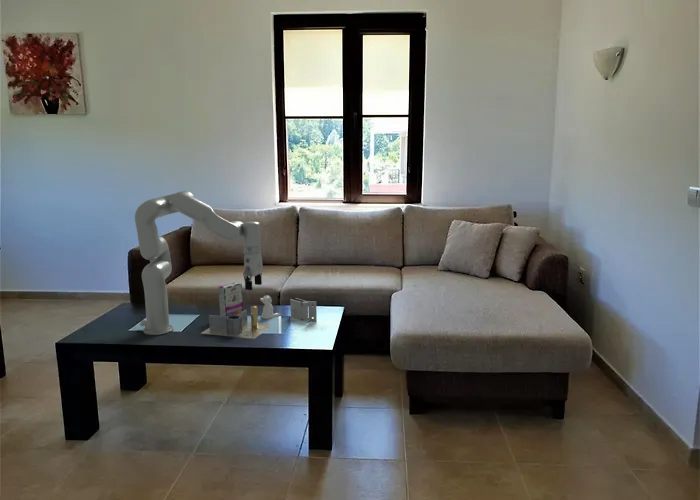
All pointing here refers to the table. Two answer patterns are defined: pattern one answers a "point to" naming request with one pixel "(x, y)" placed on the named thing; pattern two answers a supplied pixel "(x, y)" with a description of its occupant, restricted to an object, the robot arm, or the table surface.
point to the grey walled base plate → (234, 326)
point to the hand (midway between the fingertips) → (253, 287)
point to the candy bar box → (230, 299)
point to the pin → (254, 317)
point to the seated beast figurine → (268, 308)
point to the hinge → (303, 310)
